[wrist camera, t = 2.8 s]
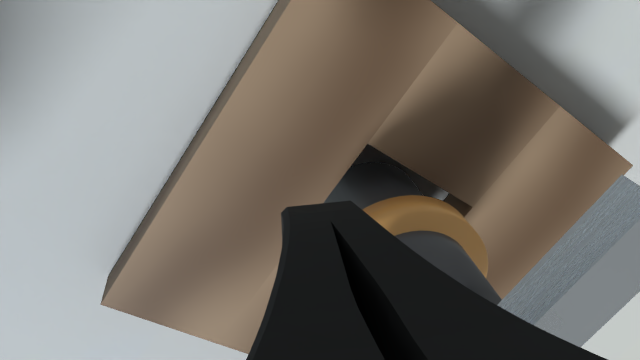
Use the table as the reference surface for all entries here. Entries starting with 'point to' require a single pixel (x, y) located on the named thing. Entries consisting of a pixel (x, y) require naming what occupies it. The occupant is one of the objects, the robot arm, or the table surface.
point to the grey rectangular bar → (585, 270)
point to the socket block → (354, 157)
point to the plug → (419, 222)
